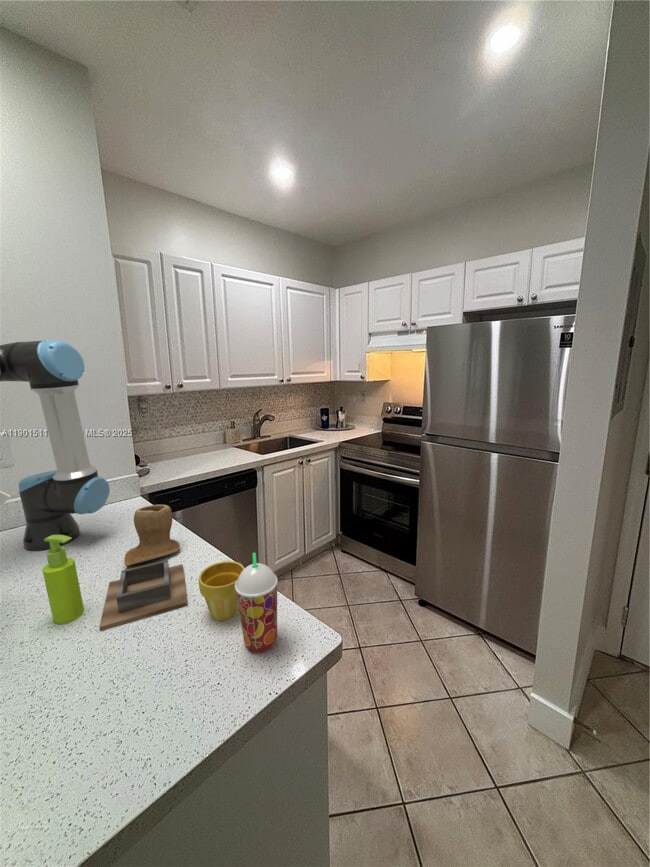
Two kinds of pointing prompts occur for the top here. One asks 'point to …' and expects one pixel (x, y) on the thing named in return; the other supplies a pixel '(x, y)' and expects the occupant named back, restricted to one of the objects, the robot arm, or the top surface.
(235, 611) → the plant pot
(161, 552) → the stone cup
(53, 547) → the soap dispenser
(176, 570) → the dispenser stand
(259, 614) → the smoothie
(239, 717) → the top surface
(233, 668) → the top surface
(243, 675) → the top surface
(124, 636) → the top surface
